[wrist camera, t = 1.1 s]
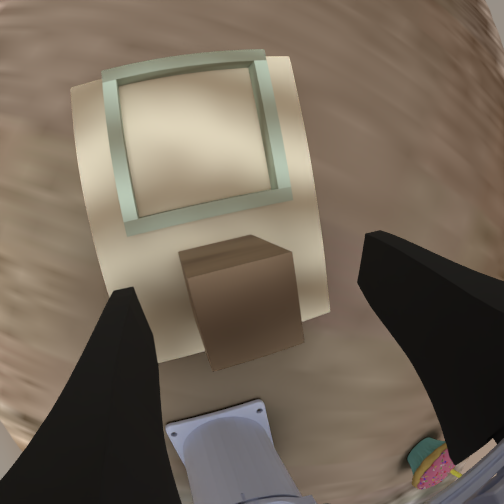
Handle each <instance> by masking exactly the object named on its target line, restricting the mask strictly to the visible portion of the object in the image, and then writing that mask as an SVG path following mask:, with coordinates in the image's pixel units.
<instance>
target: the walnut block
mask: <svg viewBox="0 0 504 504" xmlns="http://www.w3.org/2000/svg"><path fill="white" fill-rule="evenodd" d="M178 254H179V258H180V263H181V267H182V271H183V275H184V279H185V283H186V287H187V291H188V295H189V299H190V303H191V306H192V310H193V314H194V318H195V321H196V324H197V327H198V330H199V333H200V336H201V339H202V342H203V345H204V348H205V351H206V354H207V357H208V360H209V362H210V365H211V368H212V371H213V372H214V371H218V370H221V369H225V368H228V367H231V366H235V365H238V364H241V363H245V362H248V361H251V360H254V359H258V358H261V357H264V356H267V355H270V354H273V353H276V352H279V351H282V350H285V349H288V348H291V347H293V346H296V345H299V344H302V343H304V335H303V327H302V319H301V311H300V304H299V296H298V289H297V282H296V274H295V267H294V261H293V254H292V251H289V250H287V249H285V248H282V247H280V246H278V245H275V244H273V243H270V242H268V241H266V240H263V239H261V238H259V237H256V236H254V235H252V234H251V235H246V236H242V237H238V238H233V239H229V240H225V241H221V242H216V243H212V244H208V245H204V246H200V247H195V248H191V249H187V250H183V251H179V252H178Z"/></svg>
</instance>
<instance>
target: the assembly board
mask: <svg viewBox="0 0 504 504" xmlns="http://www.w3.org/2000/svg"><path fill="white" fill-rule="evenodd" d="M101 72H102V79H100V80H96V81H93V82H89V83H86V84H82V85H79V86H76V87H72V88H71V104H72V117H73V127H74V136H75V144H76V152H77V159H78V166H79V172H80V178H81V184H82V190H83V195H84V200H85V205H86V210H87V215H88V219H89V224H90V228H91V233H92V237H93V241H94V245H95V249H96V253H97V256H98V260H99V264H100V267H101V271H102V274H103V278H104V281H105V285H106V288H107V291H108V294H109V298H110V296H111V294H112V292H113V291H114V290H119V289H124V288H128V287H134V289H135V292H136V294H137V297H138V300H139V302H140V305H141V307H142V309H143V312H144V314H145V317H146V319H147V321H148V324H149V326H150V328H151V331H152V333H153V336H154V342H155V348H156V355H157V361H158V363H161V362H165V361H169V360H173V359H177V358H181V357H185V356H189V355H193V354H197V353H200V352H204V351H205V348H204V345H203V342H202V339H201V336H200V333H199V330H198V327H197V324H196V321H195V318H194V314H193V310H192V306H191V303H190V299H189V295H188V291H187V287H186V283H185V279H184V275H183V271H182V267H181V263H180V258H179V254H178V252H179V251H183V250H187V249H191V248H195V247H200V246H204V245H208V244H212V243H216V242H221V241H225V240H229V239H233V238H238V237H242V236H246V235H251V234H252V235H254V236H256V237H259V238H261V239H263V240H266V241H268V242H270V243H273V244H275V245H278V246H280V247H282V248H285V249H287V250H289V251H292V254H293V261H294V267H295V274H296V282H297V289H298V296H299V304H300V311H301V319H302V322H303V321H305V320H308V319H311V318H314V317H317V316H320V315H323V314H325V313H328V312H330V305H329V294H328V284H327V275H326V266H325V257H324V249H323V241H322V233H321V226H320V218H319V211H318V204H317V198H316V191H315V185H314V178H313V172H312V166H311V161H310V155H309V149H308V144H307V138H306V133H305V128H304V123H303V118H302V113H301V108H300V103H299V98H298V93H297V89H296V84H295V80H294V75H293V71H292V67H291V63H290V58H289V56H268V57H266V55H265V51H264V49H254V50H231V51H216V52H205V53H196V54H187V55H180V56H172V57H166V58H160V59H154V60H148V61H143V62H138V63H133V64H128V65H124V66H120V67H115V68H111V69H107V70H103V71H101Z"/></svg>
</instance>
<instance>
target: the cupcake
mask: <svg viewBox="0 0 504 504" xmlns="http://www.w3.org/2000/svg"><path fill="white" fill-rule="evenodd" d="M407 460H408V462H409V464H410V466H411V469H412V472H413V478H412V485H413V486H414V487H416V488H418V489H425V488H429V487H432V486H434V485H437V484H438V483H439V482H442V480H443V479H444V478H445V477H446V476H447V475H448V474H449V473H451V474H453V475H455V476H456V477H458V478H460V477H461V476H462V474H460V473H459V472H457V471H455V470H454V468H455V466H456V465H454V464H453V462H452V460H451V459H450V457H449V453H448V449H447V445H446V442H445V441H439V440H435V439H433V438H430V437H428V438H425V439H423V440H422V441H420V442H419V443H418V444H417V445H416V446H415V447H414V448H413V449H412V451H411V452H410V454H409V455H408V458H407Z"/></svg>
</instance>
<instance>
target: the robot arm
mask: <svg viewBox="0 0 504 504" xmlns="http://www.w3.org/2000/svg"><path fill="white" fill-rule="evenodd" d="M357 283H358V285H359V287H360V289H361V291H362V292H363V294H364V296H365V298H366V300H367V301H368V303H369V305H370V306H371V308H372V309H373V311H374V312H375V313H376V315H377V316H378V317H379V319H380V320H381V321H382V323H383V324H384V325H385V327H386V328H387V329H388V331H389V332H390V333H391V335H392V336H393V337H394V339H395V340H396V341H397V343H398V344H399V345H400V347H401V348H402V349H403V351H404V352H405V354H406V355H407V357H408V358H409V360H410V361H411V363H412V364H413V366H414V368H415V370H416V372H417V374H418V375H419V377H420V379H421V381H422V383H423V385H424V387H425V389H426V391H427V393H428V396H429V398H430V400H431V402H432V404H433V407H434V409H435V412H436V415H437V417H438V420H439V422H440V425H441V428H442V431H443V435H444V438H445V442H446V445H447V449H448V453H449V457H450V459H451V460H452V462H453V464H454V465H457V464H459V463H460V462H462V461H463V460H465V459H466V458H467V457H469V456H470V455H472V454H473V453H475V452H476V451H477V450H479V449H480V448H481V447H483V446H484V445H485V444H487V443H488V442H489V441H490V440H491V439H492V438H493V439H494V440H495V442H496V443H497V445H496V446H495V447H494V448H493V449H492V450H491V451H490V452H489V453H488V454H487V455H486V456H485V457H483V458H482V459H481V460H480V461H479V462H478V463H477V464H475V465H474V466H473V467H472V468H471V469H469V470H468V471H467V472H466V473H465V474H463V475H462V476H461V477H460V478H458V479H457V480H456V481H454V482H453V483H452V484H450V485H449V486H448V487H446V488H445V489H444V490H442V491H441V492H439V493H438V494H437V495H435V496H434V497H432V498H431V499H429V500H428V501H426V502H425V503H423V504H504V281H502V280H498V279H496V278H493V277H490V276H487V275H485V274H482V273H479V272H477V271H474V270H472V269H469V268H467V267H465V266H462V265H460V264H458V263H455V262H453V261H451V260H448V259H446V258H444V257H442V256H440V255H437V254H435V253H433V252H431V251H429V250H427V249H424V248H422V247H420V246H418V245H416V244H414V243H411V242H409V241H407V240H405V239H402V238H400V237H397V236H395V235H392V234H390V233H387V232H384V231H381V230H379V231H375V232H371V233H366V234H365V240H364V246H363V252H362V258H361V264H360V270H359V276H358V281H357ZM260 408H261V409H260ZM258 409H260V410H258ZM257 410H258V411H257ZM165 428H166V432H167V434H168V436H169V438H170V440H171V442H172V444H173V446H174V448H175V449H176V451H177V453H178V455H179V457H180V458H181V460H182V462H183V464H184V465H185V467H186V470H187V475H188V480H189V484H190V489H191V493H192V498H193V502H194V504H317V503H316V501H315V500H314V498H313V496H312V495H308V496H304V497H302V495H301V493H300V492H299V490H298V488H297V487H296V485H295V483H294V482H293V480H292V478H291V476H290V475H289V473H288V471H287V469H286V468H285V466H284V464H283V462H282V461H281V459H280V457H279V455H278V453H277V452H276V450H275V448H274V444H273V440H272V436H271V431H270V427H269V423H268V418H267V414H266V409H265V405H264V403H263V401H262V400H260V399H257V400H254V401H250V402H247V403H244V404H241V405H238V406H234V407H231V408H228V409H224V410H221V411H217V412H213V413H210V414H206V415H202V416H198V417H194V418H190V419H186V420H182V421H178V422H173V423H169V424H167V425H166V427H165ZM173 432H175V434H173ZM496 473H497V475H496V476H495V477H493V476H494V475H495V474H496ZM492 477H493V478H492ZM491 478H492V479H491ZM0 504H182V503H181V500H180V497H179V494H178V491H177V487H176V484H175V481H174V477H173V473H172V470H171V466H170V462H169V458H168V454H167V449H166V445H165V439H164V432H163V423H162V412H161V400H160V385H159V370H158V361H157V355H156V348H155V342H154V336H153V333H152V331H151V328H150V326H149V324H148V321H147V319H146V317H145V314H144V312H143V309H142V307H141V305H140V302H139V300H138V297H137V294H136V292H135V289H134V287H128V288H124V289H119V290H114V291H113V292H112V294H111V296H110V298H109V300H108V302H107V304H106V306H105V308H104V310H103V312H102V314H101V316H100V318H99V320H98V323H97V325H96V327H95V329H94V331H93V333H92V335H91V337H90V339H89V341H88V343H87V345H86V347H85V349H84V351H83V353H82V355H81V357H80V359H79V361H78V363H77V365H76V367H75V369H74V371H73V372H72V374H71V376H70V378H69V380H68V382H67V384H66V386H65V387H64V389H63V391H62V393H61V395H60V396H59V398H58V400H57V401H56V403H55V405H54V406H53V408H52V410H51V411H50V413H49V415H48V416H47V418H46V419H45V421H44V422H43V423H42V425H41V426H40V428H39V429H38V431H37V432H36V434H35V435H34V437H33V438H32V440H31V441H30V443H29V444H28V446H27V447H26V448H25V450H24V451H23V452H22V454H21V455H20V457H19V458H18V459H17V461H16V462H15V463H14V464H13V466H12V467H11V468H10V470H9V471H8V472H7V473H6V474H5V476H4V477H3V478H2V479H1V480H0ZM325 504H329V503H325Z"/></svg>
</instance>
